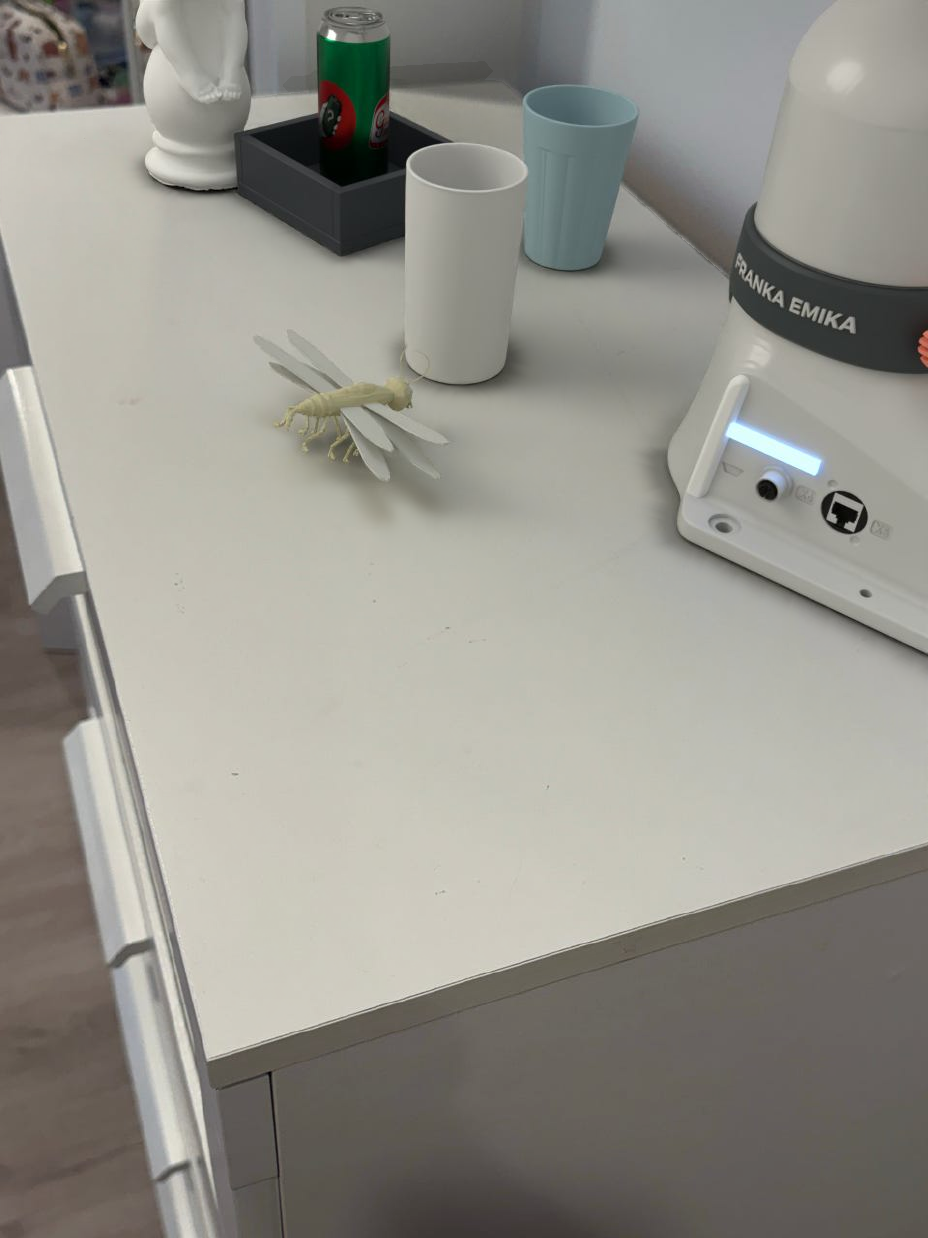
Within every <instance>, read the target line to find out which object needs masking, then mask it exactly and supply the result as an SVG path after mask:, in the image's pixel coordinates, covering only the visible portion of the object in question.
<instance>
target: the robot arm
mask: <svg viewBox="0 0 928 1238" xmlns="http://www.w3.org/2000/svg"><path fill="white" fill-rule="evenodd" d="M761 180H762V181H761V185H760V189H759V194H758V197H757V201H755V202H754V203H753V204H752V205H751V206H750V207H749V208H748V209H747V211H746V213H745V216H744V219H743V223H742V226H741V230H740V234H739V237H738V241H737V244H736V249H735V253H734V256H733V261H732V265H731V270H730V274H729V277H728V278H729V279H728V302H729V306H728V309H727V313H726V315H725V319H724V323H723V325H722V328H721V332H720V334H719V337H718V339H717V343H716V346H715V349H714V351H713V354H712V357H711V359H710V362H709V365H708V366H707V370H706V372H705V374H704V376H703V379H702V381H701V383H700V385H699V387H698V390H697V393H696V395H695V396H694V399H693V400H692V403H691V404H690V407H689V409H688V411H687V412H686V414H685V415H684V418H683V420H682V421H681V423H680V424H679V426H678V428H677V429H676V431H675V432H674V434H673V435H672V437H671V438H670V441H669V444H668V447H667V455H666V456H667V457H666V458H667V466H668V471H669V473H670V476H671V479H672V481H673V483H674V486H675V488H676V489H677V491H678V494H679V500H680V501H679V506H678V511H677V516H676V526H677V530H678V532H679V535H681V536H682V537H683V538H685V539H686V540H687V541H689V542H690V543H693V544H694V545H697V546H699V547H701V548H703V549H705V550H707V551H710V552H711V553H713V554H716V555H717V556H719V557H722V558H724V559H726V560H728V561H731V562H732V563H735V564H737V565H739V566H741V567H743V568H745V569H747V570H749V571H752V572H753V573H756V574H758V575H760V576H762V577H764V578H766V579H769V580H770V581H772V582H774V583H777V584H779V585H780V586H783V587H785V588H787V589H789V590H792V591H794V592H796V593H798V594H800V595H802V596H804V597H806V598H808V599H810V600H813V601H815V602H817V603H819V604H821V605H823V606H825V607H828V608H829V609H832V610H834V611H836V612H837V613H841V614H842V615H844V616H846V617H849V618H851V619H853V620H855V621H857V622H859V623H861V624H863V625H865V626H867V627H870V628H872V629H874V630H876V631H878V632H880V633H882V634H884V635H886V636H889V637H890V638H893V639H895V640H897V641H898V642H900V643H903V644H906V645H908V646H910V647H912V648H913V649H916V650H918V651H920V652H922V653H925V654H927V655H928V0H836V1H835V2H833V3H832V4H831V5H830V6H829V7H827V9H826V10H824V11H823V13H821V14H820V15H819V17H817V19H816V20H815V21H814V22H813V23H812V24H811V25H810V27H809V28H808V29H807V30H806V32H805V34H804V35H803V36H802V38H801V40H800V41H799V43H798V45H797V46H796V49H795V50H794V53H793V55H792V58H791V61H790V63H789V67H788V69H787V74H786V78H785V83H784V87H783V91H782V96H781V100H780V104H779V108H778V113H777V117H776V121H775V126H774V129H773V134H772V139H771V142H770V146H769V151H768V155H767V159H766V163H765V168H764V171H763V176H762V179H761Z"/></svg>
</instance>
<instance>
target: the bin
mask: <svg viewBox="0 0 928 1238" xmlns="http://www.w3.org/2000/svg"><path fill="white" fill-rule="evenodd" d="M443 143H456V142H455V141H453V140H452V139H449V138H447V137H445V136H444V135H442V134H439V133H437V132H435V131H433V130H431V129H429V128H427V127H425V126H422V125H421V124H418V123H417V122H414V121H412V120H410V119H408V118H406V117H404V116H402V115H401V114H398V113H396V112H394V111H392V110H390V109H389V154H388V174H385V175H382V176H378V177H375V178H371V179H368V180H364V181H361V182H358V183H354V184H351V185H347V186H344V187H341V186H339V185H337V184H336V183H334V182H332V181H330V180H328V179H327V178H325V177H323V176H321V175H320V170H319V125H318V112H315V113H311V114H307V115H302V116H299V117H294V118H291V119H287V120H282V121H279V122H273V123H271V124H266V125H263V126H262V125H261V126H258V127H255V128H250V129H249V128H248V129H246V130H245V129H244V131H241V132H237V133H234V144H235V158H236V172H237V185H238V186H237V194H238V195H240V196H242V197H243V198H245V199H246V200H248V201H250V202H251V203H254V205H256V206H258V207H259V208H261V209H263V210H265V211H266V212H267V213H269V214H271V215H273V216H274V217H276V218H278V219H279V220H281V221H282V222H284V223H286V224H287V225H289V226H290V227H292V228H294V229H296V230H297V231H299V232H300V233H302V234H304V235H305V236H307V237H309V238H310V239H312V240H314V241H315V242H317V243H319V245H322V246H324V247H325V248H326V249H328V250H330V251H332V252H333V253H335V254H336V255H338V256H340V257H343V256H345V255H349V254H351V253H354V252H358V251H361V250H364V249H366V248H370V247H373V246H375V245H378V244H382V243H385V242H388V241H391V240H394V239H397V238H400V237H404V236H405V200H406V170H407V167H406V163H407V160H408V158H409V157H410V156H411V155H412V154H413V153H414V152H416V151H417V150H420V149H422V148H425V147H428V146H432V145H436V144H443Z"/></svg>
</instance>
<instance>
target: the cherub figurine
mask: <svg viewBox="0 0 928 1238" xmlns="http://www.w3.org/2000/svg"><path fill="white" fill-rule="evenodd" d="M135 15H136V16H135V29H136V32H137V35H138V37H139V38H140V40H141V42H142V43H143V45H145V47H146V48H148V49H150V50H151V53H150V54H149V58H148V61H147V63H146V66H145V71H144V76H143V86H142V87H143V97H144V98H143V99H144V103H145V107H146V109H147V112H148V115H149V117H150V119H151V122H152V124H153V126H154V128H155V130H154V131H153V132H152V142H153V144H154V146H153V147H152V148H150V150H148V152H147V153H146V155H145V158H144V165H145V167H146V169H147V170H148V171H147V172H148V173H147V174H149V175H150V176H151V177H153V178H154V179H155V180H157V181H158V182H160V184H163V185H167V186H174V187H176V186H178V187H180V188H181V187H184V189H190V190H194V191H204V190H205V191H209V190H210V189H211V190H214V191H215V190H216V191H217V190H220V191H221V190H223V189H224V190H228V189H233V188H238V185H237V172H236V158H235V144H234V133H237V132H241V131H245V128H246V125H247V122H248V121H249V116H250V111H251V106H252V92H251V90H252V89H251V84H250V80H249V76H248V74H247V71H246V68H245V66H244V64H245V57H246V54H247V50H248V43H249V32H248V25H247V19H246V4H245V0H139V7H138V8H137V12H136V14H135Z"/></svg>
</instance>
